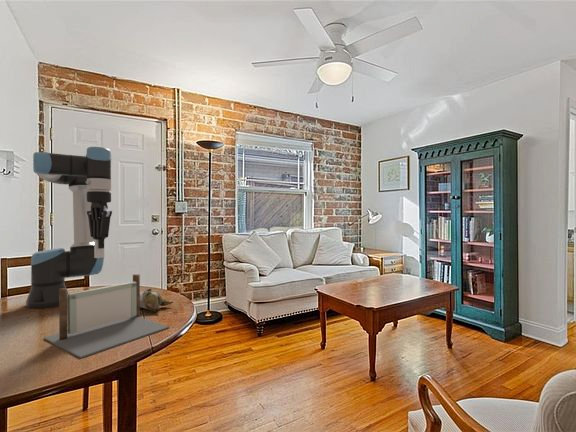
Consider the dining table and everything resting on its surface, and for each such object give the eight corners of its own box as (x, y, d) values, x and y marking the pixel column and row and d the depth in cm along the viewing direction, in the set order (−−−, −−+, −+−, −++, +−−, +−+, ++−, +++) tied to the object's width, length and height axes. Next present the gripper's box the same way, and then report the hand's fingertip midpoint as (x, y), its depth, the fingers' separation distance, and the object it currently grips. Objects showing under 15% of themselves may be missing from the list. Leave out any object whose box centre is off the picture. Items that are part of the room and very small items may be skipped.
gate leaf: (70, 334, 101) (69, 294, 101) (67, 332, 102) (67, 293, 102) (136, 315, 120) (136, 282, 119) (133, 314, 121) (133, 281, 120)
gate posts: (57, 340, 100) (57, 289, 100) (137, 315, 125) (136, 273, 125) (61, 342, 99) (61, 289, 99) (141, 316, 124) (141, 274, 123)
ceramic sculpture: (143, 284, 140) (174, 288, 136) (142, 303, 140) (173, 308, 137) (125, 290, 129) (159, 294, 126) (125, 311, 130) (158, 316, 126)
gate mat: (44, 339, 101) (44, 337, 101) (129, 315, 125) (129, 314, 125) (80, 358, 88) (80, 356, 88) (169, 328, 111) (169, 326, 111)
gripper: (78, 191, 116) (79, 257, 116) (97, 190, 108) (97, 260, 109) (100, 192, 122) (100, 255, 122) (119, 191, 115) (119, 257, 115)
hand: (99, 257), depth 115 cm, fingers closed
